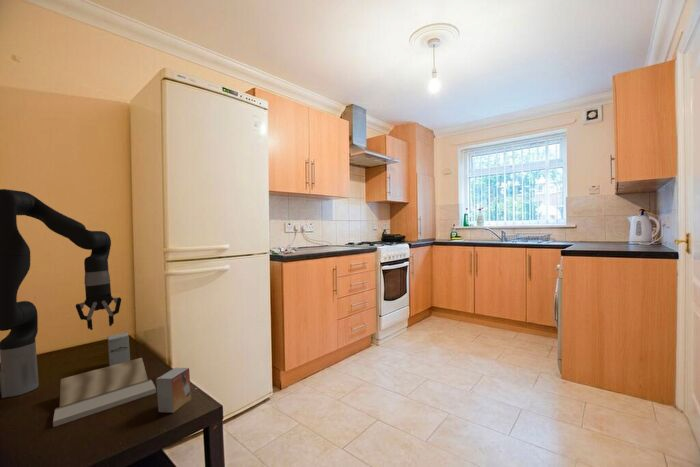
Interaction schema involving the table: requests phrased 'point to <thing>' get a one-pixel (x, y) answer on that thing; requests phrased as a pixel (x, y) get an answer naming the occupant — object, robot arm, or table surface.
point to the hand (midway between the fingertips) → (100, 327)
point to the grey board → (102, 402)
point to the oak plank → (101, 381)
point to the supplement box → (118, 348)
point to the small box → (173, 390)
